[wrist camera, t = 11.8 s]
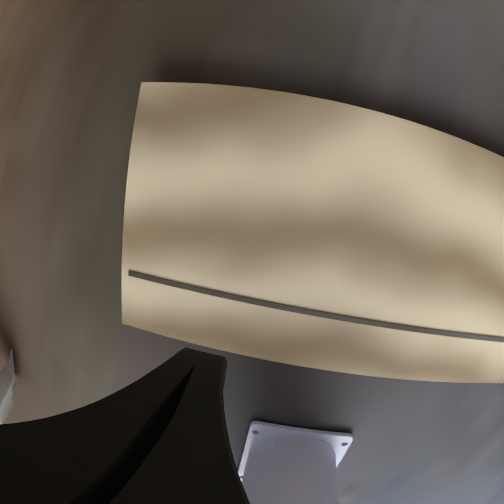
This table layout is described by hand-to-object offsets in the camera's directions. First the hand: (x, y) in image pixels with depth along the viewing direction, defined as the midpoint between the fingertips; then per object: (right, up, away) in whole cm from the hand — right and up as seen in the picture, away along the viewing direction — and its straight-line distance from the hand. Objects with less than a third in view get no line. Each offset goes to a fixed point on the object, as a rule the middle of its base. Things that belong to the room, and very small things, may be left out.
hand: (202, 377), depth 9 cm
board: (+11, +4, +7) cm, 13 cm away
